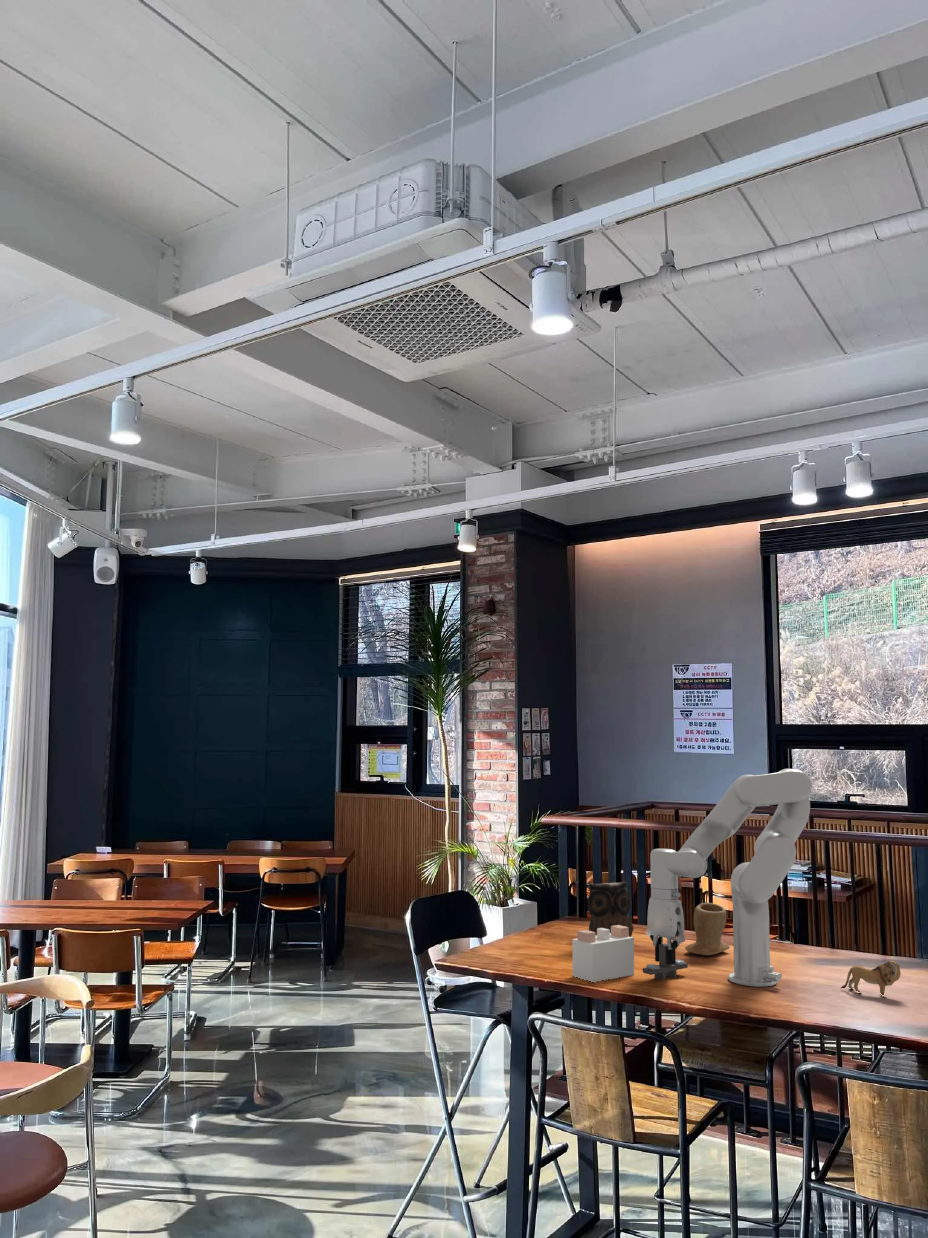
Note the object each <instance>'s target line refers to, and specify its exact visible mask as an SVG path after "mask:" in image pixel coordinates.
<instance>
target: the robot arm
mask: <svg viewBox="0 0 928 1238" xmlns="http://www.w3.org/2000/svg"><path fill="white" fill-rule="evenodd" d="M812 790H813V783H812V779H811V778H810V776H809V775H808V774H807V773H806V772H805V771H803V770H801V769H800V770H799V769H796V768H795V769H793V768H784V769H781V770H779V771H778V772H773V773H765V774H755V775H753V774H743V775H740V776H739V777H737V778H736V780H735V781H734V782H732V784H731V785H730V787H729V788H728V789H727V790H726V791H725V793H724V795H723V796H722V797H721V799H720V800H719V801H718V802H717V804H716V805H715V806H714V807H713V809H712V810H711V811H710V812H709V814H708V815H707V816H706V817H705V818H704V820H702V822H701V823H700V824H699V826H697V827H696V828H695V829H694V831H693V832H692V833H691V834H690V836H688V839H687V840H686V841H685V842H684V844H683V845H682V846H681V848H680V849H679V850H678V851H676V850H675V849H671V848H654V849H652V850H651V851H650V856H649V857H650V897H649V900H648V906H647V907H648V908H647V920H646V921H647V923H646V925H647V926H646V927H647V928H646V930H645V934H646V935H647V936H648V937H649V938H650V940H651V942H652V945H653V947H654V961H655V962H658V963H659V944H664V938H666V944H667V946H668V949H666V964H668V965H670V964H675V963H676V960H677V959H676V958H677V957H676V950H677V949H678V948H679V946H680V944H683V943H684V942H686V938H685V919H684V918H685V917H684V910H683V906H682V901H681V900H679V898H680V897H681V893H680V892H679V877H683V878H691V879H697V878H700V877H702V876H703V875H704V874H705V873H706V871H707V870H708V861H707V859H708V858H709V856H710V855H711V854H712V853H713V851H714V850H715V849H716V848H717V847H718V846H719V845H720V844H721V843H723V841H725V840H727V839H729V838H730V837H732V836H734V835H735V833H736V832H737V831H738V830H739V829H740V827H741V826H742V825H743V824H744V823H745V821H746V819H747V818H748V816H750V814H751V813H752V812H753V811H754V810H755V809H756V808H757V807H767V806H774V805H775V806H776V805H777V807H776V809H775V811H774V814H773V815H772V817H771V818H770V819H769V821H768V823H766V826H765V827H764V828H763V830H762V832H761V833H760V834H759V836H757V838H756V841H755V843H754V846H753V847H754V855H753V857H752V858H751V860H750V861H748V862H741V863H740V864H738V865H737V866H736V867H735V868H734V869H733V871H732V873H731V877H730V887H731V888H730V889H731V899H732V901H731V902H732V920H733V921H732V927H733V928H732V931H733V934H732V935H733V938H732V939H733V972H731V973H729V974H728V980H729V981H730V982H731V983H735V984H737V985H742V986H747V987H754V988H755V987H757V988H758V987H760V988H762V987H763V988H764V987H766V988H767V987H772V986H775V985H776V984H777V983H780V981H781V979H782V977H783V976H782V975H783V974H782V973H780V972H775V968H774V966H773V965H771V950H770V949H771V945H770V939H771V938H770V911H769V908H770V907H769V900H770V899H771V898H772V896H773V895H774V894H775V893H776V891H777V890H778V888H779V887H780V885H781V884H782V882H783V881H784V880H785V878H786V877H787V875H788V873H789V871H790V870H791V868H792V867H793V865H794V863H795V861H796V856H797V848H796V845H795V844H796V841H797V840H798V838H799V837H800V835H801V833H802V832H803V830H804V828H805V827H806V825H807V823H808V821H809V818H810V814H811V813H810V812H811V801H810V794H811V793H812Z"/></svg>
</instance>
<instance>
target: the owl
mask: <svg viewBox="0 0 928 1238" xmlns="http://www.w3.org/2000/svg"><path fill="white" fill-rule="evenodd" d="M627 886H628V882H627V881H623V882H622V881H621V882H603V883H589V884H588V890H589V891H588V892H589V895H588V897H587V910H588V913H589V914H590V915H589V916H590V921H589V925H588V931H592V932H595V936H596V935H597V929H598V928H605V929H609V930H610V933H611V926H615V925H621V926H625V927H629V937H633V931H634V930H635V928H634V925H633V924H632V923H633V919H632V918H631V916H630V915H629V910H630V909H631V907H632V899H631V894H630V893H629V891H628V888H627Z"/></svg>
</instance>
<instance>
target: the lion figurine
mask: <svg viewBox="0 0 928 1238" xmlns="http://www.w3.org/2000/svg"><path fill="white" fill-rule="evenodd" d="M901 974H902V973H901V967H900V964H899V963H898V962H895V961H894V960H888V961H886V962H885V963H883V964H880V965H878V966H875V967H874V968H873V969H872V968H867V967H863V966H862V965H861V966H860V965H853V966H852V967H850V968H849V970H848V974H847V977H846V980H845V981H846V982H845V983H844V984H843V985H842V986H841V987H840V989H842V988H844V989H846V988H847V987H849V988H854V990H855V992H856V991H858V992H860V990H859V984H860V980H863V981H864V982H866V983H868V984H870V985H878V986H879V994H880V993H881V994H882V995H884V993H886V992H885V991H886V987H888V986H890V987H891V986H892V985H893V984H895V982H897V981H899V980H900V977H901ZM851 975H852V977H851ZM850 978H851V979H850ZM849 988H848V989H849ZM881 994H880V995H881Z"/></svg>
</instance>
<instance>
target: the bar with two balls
mask: <svg viewBox="0 0 928 1238" xmlns="http://www.w3.org/2000/svg"><path fill="white" fill-rule="evenodd" d="M666 949H668V946H667V943H663V944H659V962H658V964H654V963H652V964H651V963H650V964H646V967H642V973H643V974H646V975H650V976H651V975H652V976H653V975H654V979H657V980H660V981H665V980H666V979H667V977H669V978H673V979H675V978H677V977H678V976H677V971H678V970H683V969H688V967H689V964H688V963H687V962H685V961H684V960H682V959H676V963H675V964H670V965H668V964H666Z"/></svg>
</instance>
